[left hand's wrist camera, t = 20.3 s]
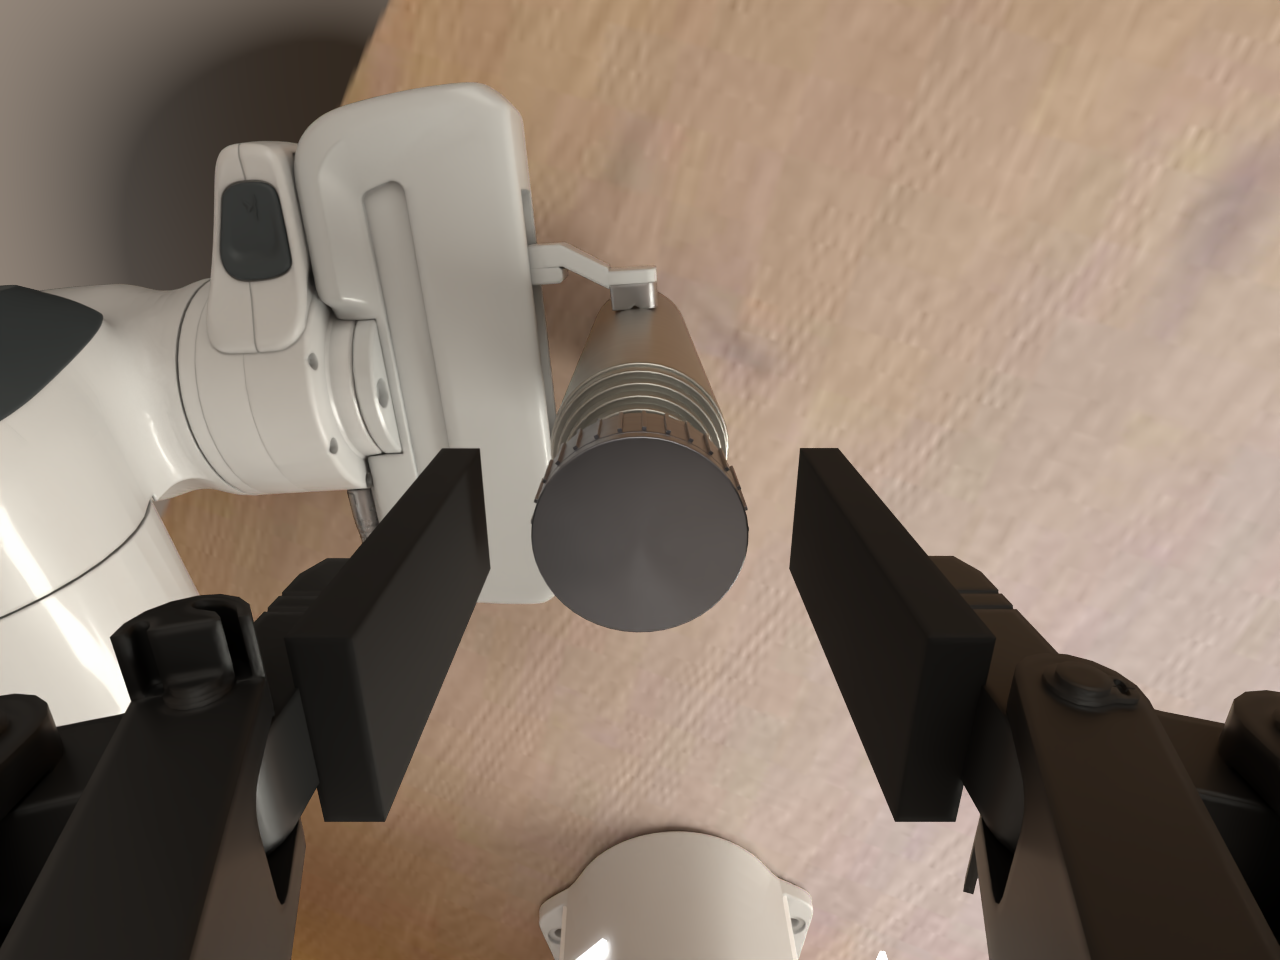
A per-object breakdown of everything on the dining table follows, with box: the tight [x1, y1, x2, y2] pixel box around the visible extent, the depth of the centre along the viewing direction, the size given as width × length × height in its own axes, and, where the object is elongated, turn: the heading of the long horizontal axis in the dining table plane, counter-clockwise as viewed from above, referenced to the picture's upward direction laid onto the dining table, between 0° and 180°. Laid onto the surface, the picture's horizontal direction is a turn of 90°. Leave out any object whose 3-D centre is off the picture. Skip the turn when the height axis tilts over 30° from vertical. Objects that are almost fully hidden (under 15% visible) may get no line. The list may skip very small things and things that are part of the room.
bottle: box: [551, 292, 729, 460], centre depth 24 cm, size 5×5×22 cm
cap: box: [531, 410, 749, 632], centre depth 14 cm, size 4×4×2 cm
